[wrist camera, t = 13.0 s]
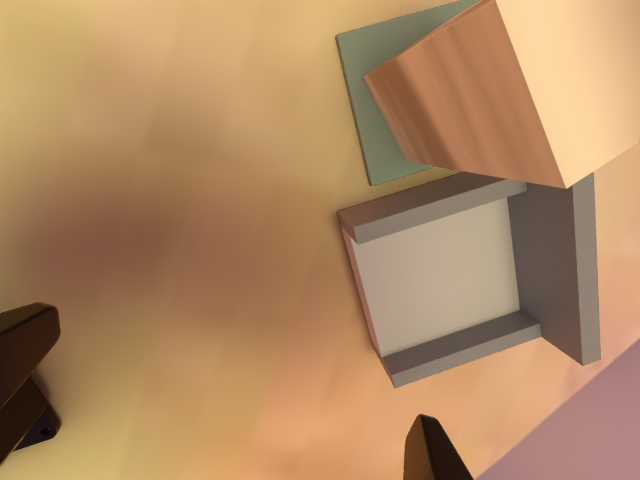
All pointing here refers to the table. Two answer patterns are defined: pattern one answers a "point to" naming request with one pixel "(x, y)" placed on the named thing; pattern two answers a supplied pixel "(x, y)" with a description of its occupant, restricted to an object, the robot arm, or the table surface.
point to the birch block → (518, 89)
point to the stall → (475, 271)
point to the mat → (366, 55)
